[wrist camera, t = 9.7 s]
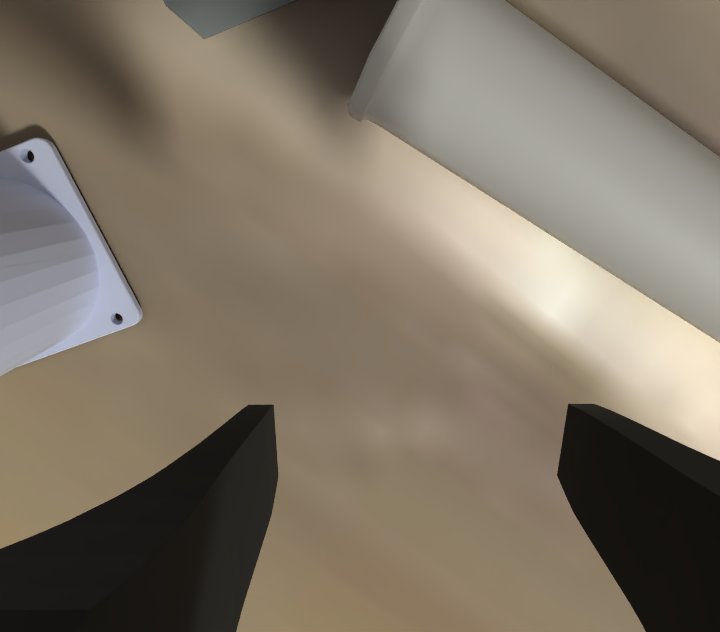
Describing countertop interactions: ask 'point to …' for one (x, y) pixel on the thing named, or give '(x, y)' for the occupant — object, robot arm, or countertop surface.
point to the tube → (552, 144)
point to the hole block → (220, 13)
